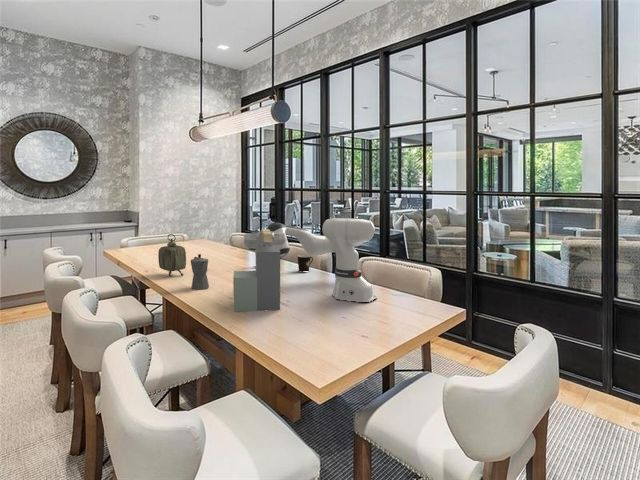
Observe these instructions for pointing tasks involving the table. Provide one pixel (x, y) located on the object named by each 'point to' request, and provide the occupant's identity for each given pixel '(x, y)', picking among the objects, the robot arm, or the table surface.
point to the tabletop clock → (172, 257)
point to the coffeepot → (199, 273)
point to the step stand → (259, 283)
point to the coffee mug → (304, 262)
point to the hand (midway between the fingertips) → (265, 232)
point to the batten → (266, 235)
